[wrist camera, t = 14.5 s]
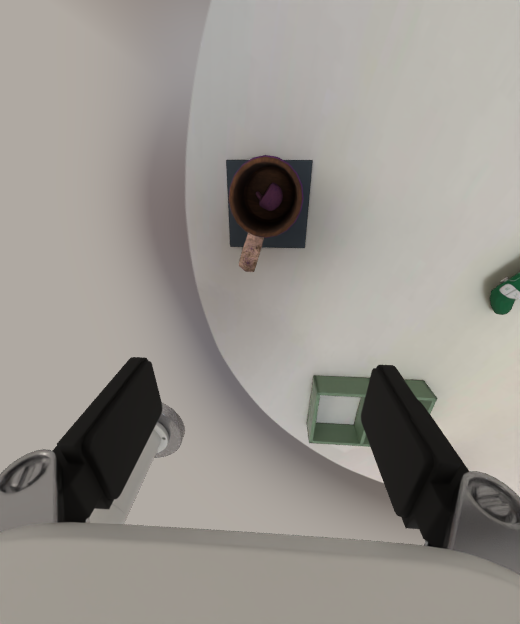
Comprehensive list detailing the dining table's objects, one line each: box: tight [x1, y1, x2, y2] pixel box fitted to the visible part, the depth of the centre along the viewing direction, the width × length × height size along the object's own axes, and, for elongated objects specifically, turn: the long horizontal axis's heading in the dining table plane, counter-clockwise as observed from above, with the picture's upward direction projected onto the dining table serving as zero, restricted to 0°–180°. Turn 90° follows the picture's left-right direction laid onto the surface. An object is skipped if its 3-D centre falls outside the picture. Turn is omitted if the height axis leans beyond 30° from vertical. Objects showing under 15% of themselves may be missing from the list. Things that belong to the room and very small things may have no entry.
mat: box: [226, 160, 312, 248], centre depth 31 cm, size 10×10×1 cm
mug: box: [229, 155, 304, 272], centre depth 25 cm, size 10×7×12 cm
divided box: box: [307, 376, 437, 447], centre depth 44 cm, size 19×13×4 cm
